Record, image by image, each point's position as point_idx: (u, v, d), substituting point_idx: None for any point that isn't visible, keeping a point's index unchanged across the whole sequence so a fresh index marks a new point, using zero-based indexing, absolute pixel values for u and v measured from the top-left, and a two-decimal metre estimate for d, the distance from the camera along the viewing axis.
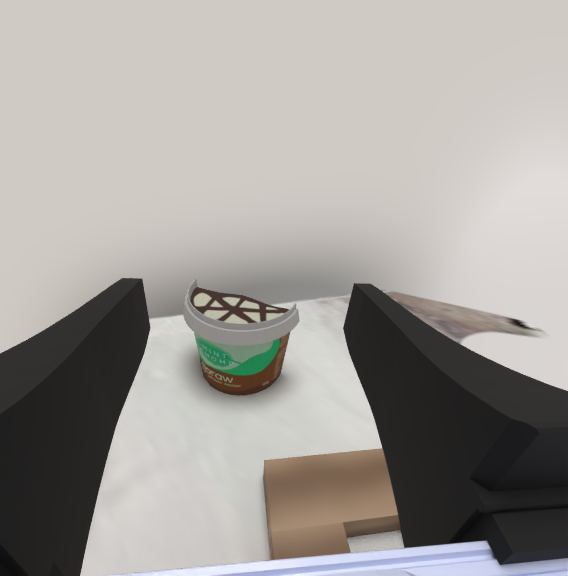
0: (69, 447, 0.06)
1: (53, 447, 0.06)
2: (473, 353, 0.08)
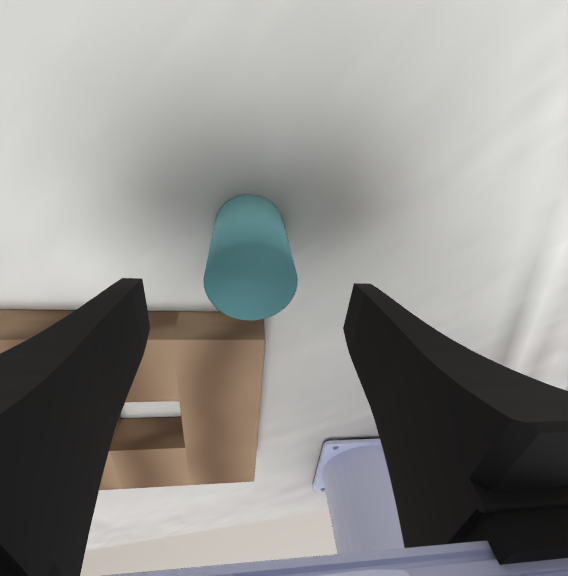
0: (69, 447, 0.06)
1: (53, 447, 0.06)
2: (473, 353, 0.08)
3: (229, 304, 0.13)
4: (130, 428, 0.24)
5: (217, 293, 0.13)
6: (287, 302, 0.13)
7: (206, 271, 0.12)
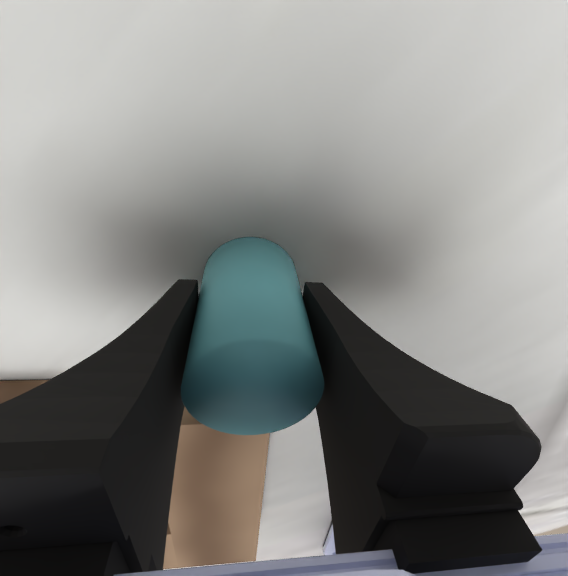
0: (160, 443, 0.07)
1: (152, 443, 0.06)
2: (402, 353, 0.07)
3: (221, 418, 0.09)
4: None
5: (202, 406, 0.08)
6: (308, 411, 0.09)
7: (184, 380, 0.08)
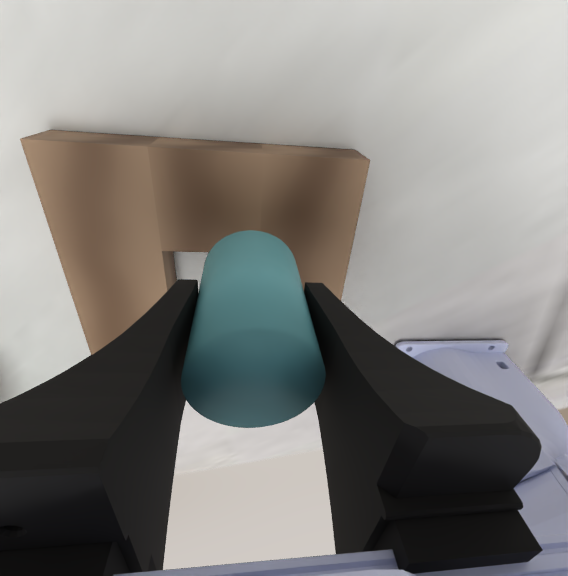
0: (159, 443, 0.07)
1: (152, 443, 0.06)
2: (402, 353, 0.07)
3: (218, 408, 0.09)
4: None
5: (201, 394, 0.08)
6: (305, 406, 0.09)
7: (186, 366, 0.08)
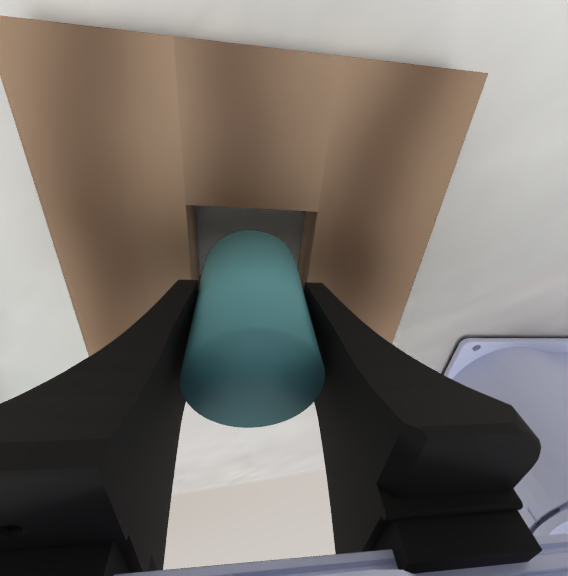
0: (160, 443, 0.07)
1: (152, 443, 0.06)
2: (402, 354, 0.07)
3: (217, 408, 0.09)
4: None
5: (200, 393, 0.08)
6: (304, 407, 0.09)
7: (185, 365, 0.08)
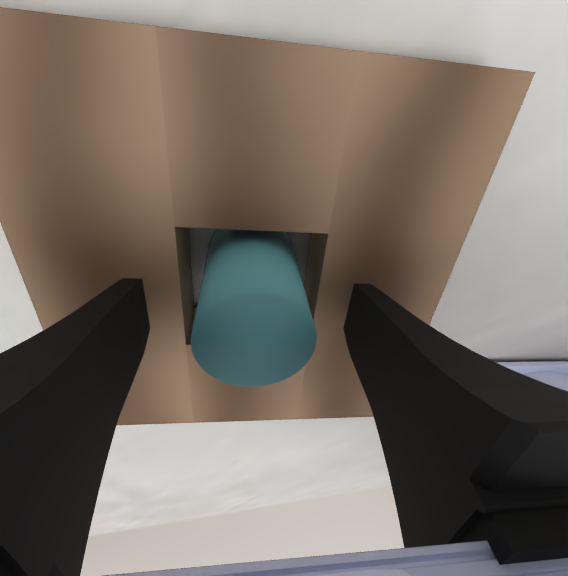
0: (69, 447, 0.06)
1: (53, 447, 0.06)
2: (473, 353, 0.08)
3: (222, 367, 0.10)
4: None
5: (207, 353, 0.09)
6: (298, 368, 0.10)
7: (196, 326, 0.09)
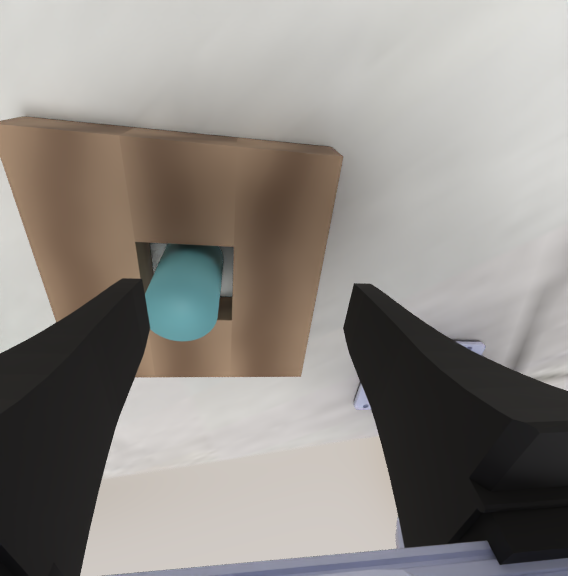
0: (69, 447, 0.06)
1: (53, 447, 0.06)
2: (473, 353, 0.08)
3: (161, 327, 0.16)
4: None
5: (151, 318, 0.16)
6: (210, 330, 0.17)
7: None
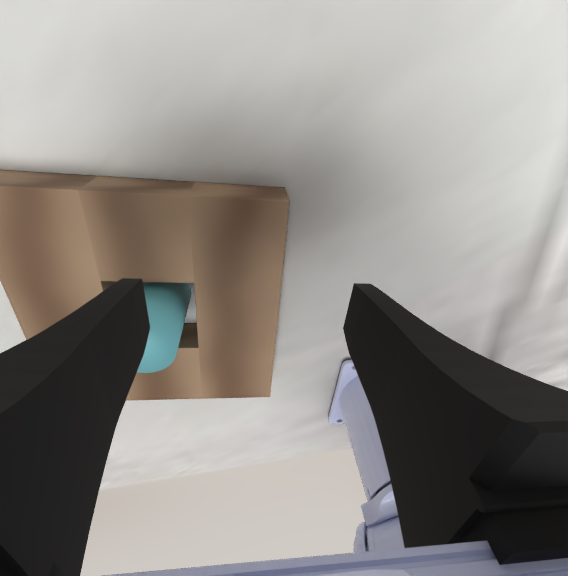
0: (69, 447, 0.06)
1: (53, 447, 0.06)
2: (473, 353, 0.08)
3: None
4: None
5: None
6: (171, 362, 0.18)
7: None
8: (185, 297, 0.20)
